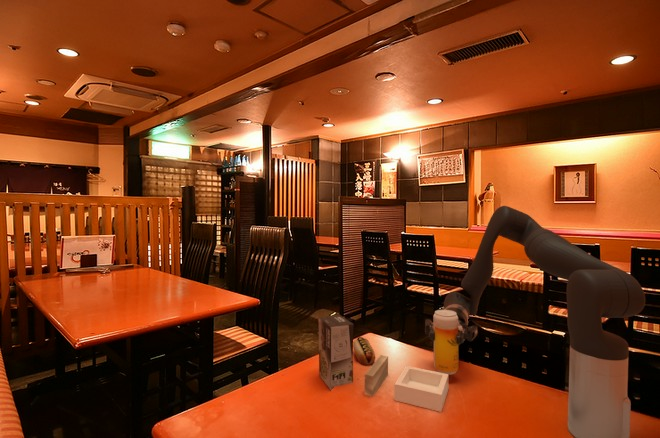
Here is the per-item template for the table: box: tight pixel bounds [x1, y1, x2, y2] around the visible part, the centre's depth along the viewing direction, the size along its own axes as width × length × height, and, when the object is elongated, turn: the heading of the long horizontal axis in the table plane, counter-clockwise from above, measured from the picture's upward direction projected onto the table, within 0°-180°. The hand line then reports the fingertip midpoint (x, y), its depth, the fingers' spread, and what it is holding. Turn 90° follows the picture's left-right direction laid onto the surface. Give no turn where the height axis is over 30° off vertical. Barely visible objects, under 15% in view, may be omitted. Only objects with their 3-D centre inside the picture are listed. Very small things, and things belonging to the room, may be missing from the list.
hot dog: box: [353, 336, 376, 366], centre depth 106 cm, size 5×13×5 cm, turn 6°
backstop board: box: [364, 355, 389, 398], centre depth 85 cm, size 20×12×6 cm, turn 64°
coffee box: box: [318, 314, 354, 391], centre depth 93 cm, size 9×6×16 cm
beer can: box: [433, 309, 460, 375], centre depth 92 cm, size 6×6×15 cm
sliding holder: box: [393, 365, 449, 413], centre depth 84 cm, size 10×10×4 cm
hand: (445, 338), depth 89 cm, fingers closed on beer can, 5 cm apart
